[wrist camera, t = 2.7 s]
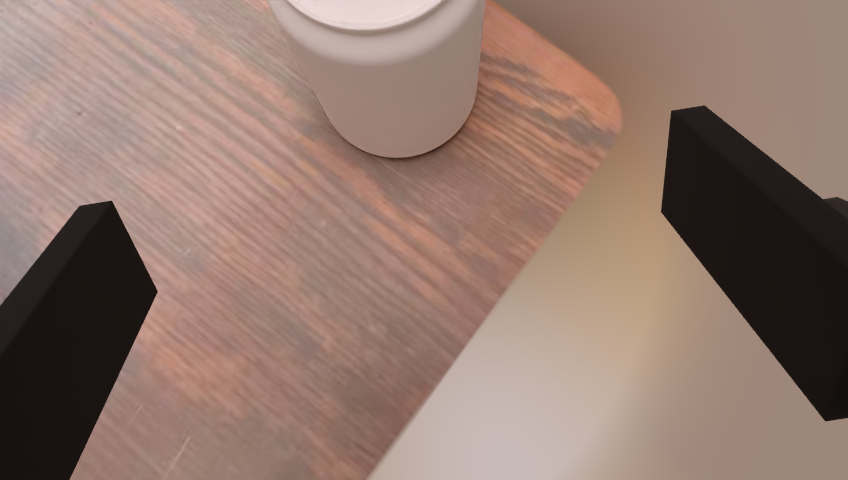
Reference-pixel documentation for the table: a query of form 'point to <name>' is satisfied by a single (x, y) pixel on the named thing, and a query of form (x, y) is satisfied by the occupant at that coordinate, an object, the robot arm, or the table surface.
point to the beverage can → (388, 67)
